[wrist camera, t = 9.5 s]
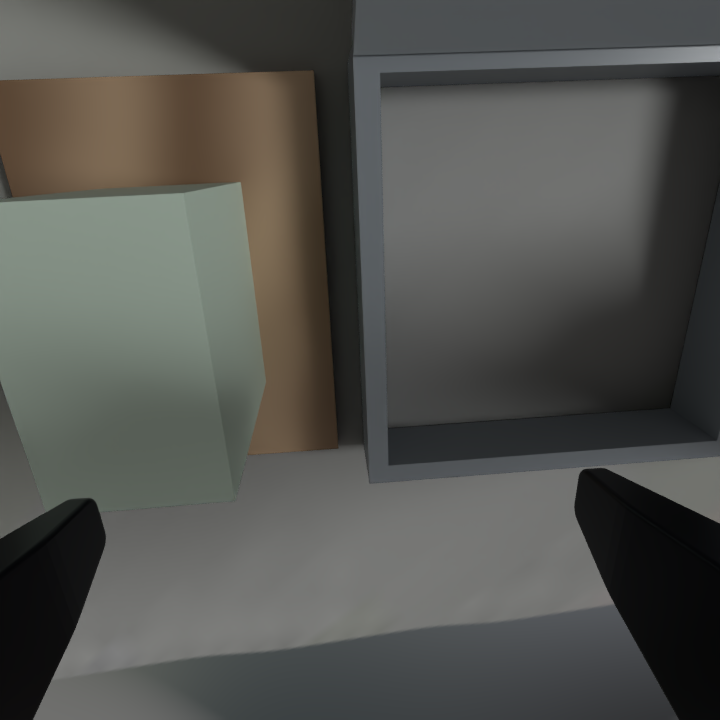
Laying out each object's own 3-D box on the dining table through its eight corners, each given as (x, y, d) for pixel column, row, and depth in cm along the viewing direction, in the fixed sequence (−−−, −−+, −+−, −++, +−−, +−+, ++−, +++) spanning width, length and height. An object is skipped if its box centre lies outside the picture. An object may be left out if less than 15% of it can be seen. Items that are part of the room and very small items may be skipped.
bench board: (313, 73, 17) (313, 70, 17) (337, 441, 23) (338, 448, 22) (-10, 83, 17) (-21, 81, 16) (96, 459, 22) (90, 466, 22)
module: (240, 182, 18) (183, 193, 10) (265, 381, 21) (235, 501, 13) (100, 188, 18) (-62, 204, 10) (146, 390, 21) (47, 516, 13)
